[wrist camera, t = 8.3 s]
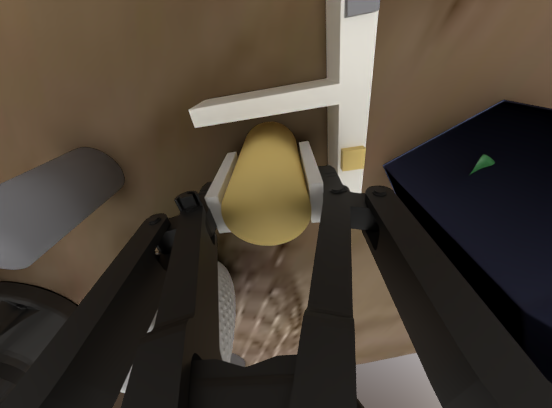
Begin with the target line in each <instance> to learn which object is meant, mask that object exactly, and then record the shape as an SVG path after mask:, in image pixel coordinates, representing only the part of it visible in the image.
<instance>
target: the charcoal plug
mask: <svg viewBox="0 0 552 408" xmlns="http://www.w3.org/2000/svg"><path fill="white" fill-rule="evenodd" d="M123 184H124V175H123V172H122V170H121V168H120V167H119V165H118V164H117V163H116V162H115V161H114V160H113V159H112V158H111V157H110V156H108V155H107V154H105V153H103V152H101V151H99V150H96V149H93V148H88V147H81V148H77V149H75V150H73V151H70V152H68V153H66V154H64V155H62V156H60V157H57V158H55V159H53V160H51V161H49V162H47V163H44V164H42V165H40V166H38V167H36V168H34V169H31V170H29V171H27V172H25V173H23V174H21V175H19V176H16V177H14V178H12V179H10V180H8V181H6V182H3V183H1V184H0V268H2V269H12V270H16V269H24V268H27V267H29V266H30V265H31V264H32V263H34V262H35V261H36V260H37V259H38V258H39V257H41V256H42V255H43V254H44V253H45V252H47V251H48V250H49V249H50V248H51V247H52V246H54V245H55V244H56V243H57V242H58V241H59V240H61V239H62V238H63V237H64V236H65V235H67V234H68V233H69V232H70V231H71V230H72V229H74V228H75V227H76V226H77V225H78V224H79V223H81V222H82V221H83V220H84V219H85V218H87V217H88V216H89V215H90V214H91V213H92V212H94V211H95V210H96V209H97V208H98V207H99V206H101V205H102V204H103V203H104V202H105V201H107V200H108V199H109V198H110V197H111V196H112V195H114V194H115V193H116V192H117V191H118V190H119V189H121V188H122V186H123Z"/></svg>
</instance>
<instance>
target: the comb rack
mask: <svg viewBox="0 0 552 408" xmlns="http://www.w3.org/2000/svg"><path fill="white" fill-rule="evenodd" d="M379 7H380V0H326V55H327V78H325V79H319V80H314V81H308V82H302V83H297V84H291V85H286V86H280V87H274V88H269V89H263V90H257V91H252V92H246V93H240V94H235V95H229V96H224V97H218V98H212V99H207V100H204V101H202V102H200V103H199V104H197V105H196V106H194V107H192V108H191V109H189V110H188V111H189V113H190V116H191V119H192V121H193V124H194V127H195V128H198V127H204V126H211V125H217V124H223V123H229V122H235V121H241V120H247V119H253V118H259V117H265V116H271V115H277V114H283V113H289V112H295V111H301V110H307V109H313V108H319V107H325V106H327V133H328V165H330V166H332V167H334V168H335V170H336V172H337V174H338V176H339V178H340V180H341V182H342V184H343V185H345V186H347V187H348V188H349V190H350V192H354V193H361V190H362V180H363V169H364V162H365V152H366V137H367V127H368V116H369V106H370V95H371V85H372V74H373V64H374V53H375V43H376V32H377V22H378V11H379Z"/></svg>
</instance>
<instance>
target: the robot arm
mask: <svg viewBox="0 0 552 408" xmlns="http://www.w3.org/2000/svg"><path fill="white" fill-rule="evenodd" d="M299 150H300V160H301V164H302V168H303V173H304V177H305V181H306V186H307V190H308V194H309V199H310V203H311V222H312V223H316V222H320V225H319V232H318V239H317V246H316V253H315V259H314V266H313V273H312V280H311V287H310V294H309V301H308V307H307V309H306V310H305V312H304V316H303V322H302V328H301V334H300V341H299V347H298V354H297V355H282V356H275V357H273V358H270V359H267V360H265V361H262V362H259V363H257V364H254V365H251V366H248V367H242V366H239V365H236V364H232V363H229V362H226V361H223V360H222V356H221V353H220V345H219V300H218V255H217V236H216V233H215V230H216V227H217V229H218V231H219V233H227V232H231V231H230V230H229V229H228V227H227V226H226V224H225V223H224V220H223V218H222V213H221V204H222V200H223V197H224V195H225V192H226V189H227V187H228V184H229V181H230V179H231V176H232V173H233V171H234V168H235V165H236V163H237V160H238V155H237V152H231V153H227V155H226V157H225V159H224V161H223V163H222V164H221V166H220V168H219V170H218V172H217V174H216V176H215V178H214V180H213V182H208V183H206V184H205V185H204V186H203V187H202V188H201V190H200V192H199V194H198V193H197V192H196V191H187V192H184V193H182V194H180V195H178V196H177V197H176V198H175V200H174V201H175V203H176V204H177V206H178V208H179V210H180V215H179V216H176V217H172V218H169V219H168V217H167V216H166V214H164V213H160V214H155V215H152V216H150V217H149V218H148V219H146V220H145V221H144V222H143V224H142V225H141V226H140V227H139V229H138V230H137V231H136V232H135V234H134V235H133V236H132V238H131V239H130V240H129V241H128V243H127V244H126V245H125V247H124V248H123V249H122V250H121V252H120V253H119V254H118V255H117V257H116V258H115V259H114V261H113V262H112V263H111V264H110V266H109V267H108V268H107V270H106V271H105V272H104V273H103V275H102V276H101V277H100V278H99V280H98V281H97V282H96V284H95V285H94V286H93V287H92V289H91V290H90V291H89V293H88V294H87V295H86V296H85V298H84V299H83V300H82V301H81V303H80V304H79V305H78V307H77V306H76V305H75V304H73V303H72V302H70V301H68V300H67V299H65V298H63V297H61V296H59V295H57V294H54V293H52V292H49V291H46V290H43V289H40V288H37V287H33V286H29V285H24V284H18V283H10V282H0V408H112V407H113V405H114V403H115V401H116V399H117V397H118V395H119V393H120V391H121V389H122V386H123V384H124V382H125V380H126V378H127V375H128V373H129V371H130V369H131V367H132V369H131V373H130V376H129V380H128V384H127V387H126V391H125V395H124V398H123V402H122V406H121V408H364V406H363V405H362V404H361V403H360V401H359V400H358V399H357V395H356V361H355V328H354V318H353V305H352V263H351V228H352V229H361V230H362V233H363V235H364V237H365V239H366V242H367V244H368V246H369V248H370V250H371V253H372V255H373V257H374V259H375V261H376V264H377V266H378V268H379V270H380V273H381V275H382V277H383V279H384V281H385V284H386V286H387V288H388V290H389V292H390V295H391V297H392V299H393V301H394V304H395V306H396V308H397V310H398V312H399V315H400V317H401V319H402V321H403V323H404V326H405V328H406V330H407V332H408V334H409V337H410V339H411V341H412V343H413V346H414V348H415V350H416V352H417V354H418V357H419V359H420V361H421V363H422V365H423V367H424V370H425V372H426V374H427V377H428V379H429V381H430V383H431V385H432V387H433V389H434V391H435V393H436V395H437V397H438V399H439V401H440V403H441V405H442V407H443V408H552V383H550V382H549V381H548V380H547V379H546V378H545V377H544V375H543V374H542V373H541V372H540V370H539V369H538V368H537V367H536V365H535V364H534V363H533V362H532V361H531V359H530V358H529V357H528V356H527V354H526V353H525V352H524V351H523V350H522V348H521V347H520V346H519V345H518V343H517V342H516V341H515V340H514V338H513V337H512V336H511V335H510V334H509V332H508V331H507V330H506V329H505V327H504V326H503V325H502V324H501V323H500V321H499V320H498V319H497V318H496V316H495V315H494V314H493V313H492V312H491V310H490V309H489V308H488V307H487V305H486V304H485V303H484V302H483V300H482V299H481V298H480V297H479V296H478V294H477V293H476V292H475V291H474V289H473V288H472V287H471V286H470V285H469V283H468V282H467V281H466V280H465V278H464V277H463V276H462V275H461V273H460V272H459V271H458V270H457V269H456V267H455V266H454V265H453V264H452V262H451V261H450V260H449V259H448V258H447V256H446V255H445V254H444V253H443V251H442V250H441V249H440V248H439V246H438V245H437V244H436V243H435V242H434V240H433V239H432V238H431V237H430V235H429V234H428V233H427V232H426V231H425V229H424V228H423V227H422V226H421V224H420V223H419V222H418V221H417V220H416V218H415V217H414V216H413V215H412V213H411V212H410V211H409V210H408V208H407V207H406V206H405V205H404V204H403V202H402V201H401V200H400V199H399V197H398V196H397V195H396V194H395V193H394V191H393V190H391V189H390V188H388V187H385V186H372V187H369V188H367V190H366V192H365V193H354V192H350V190H349V188H348V187H347V186H345V185H343V184H342V182H341V180H340V178H339V176H338V174H337V172H336V170H335V168H334V167H332V166H330V165H328V166H320V167H318V166H317V163H316V161H315V158H314V155H313V152H312V150H311V147H310V144H309V141H304V142H299ZM156 247H157V248H158V250H159V253H158V254H156V253H155V252H154V251H155V249H156ZM157 310H158V311H157ZM156 312H157V316H156V320H155V324H154V327H153V329H152V331H150V332H148V330H149V327H150V325H151V323H152V321H153V319H154V316H155V314H156ZM147 332H148V333H147Z"/></svg>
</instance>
